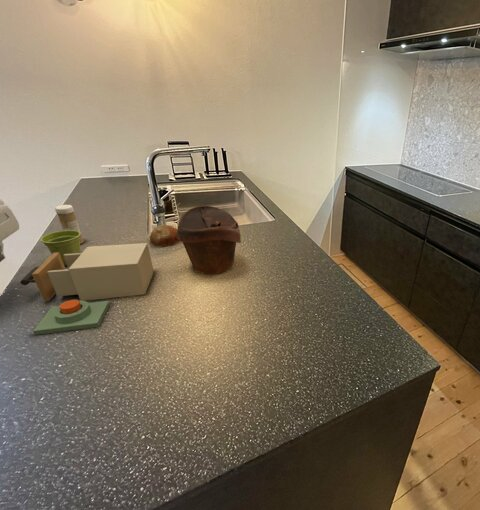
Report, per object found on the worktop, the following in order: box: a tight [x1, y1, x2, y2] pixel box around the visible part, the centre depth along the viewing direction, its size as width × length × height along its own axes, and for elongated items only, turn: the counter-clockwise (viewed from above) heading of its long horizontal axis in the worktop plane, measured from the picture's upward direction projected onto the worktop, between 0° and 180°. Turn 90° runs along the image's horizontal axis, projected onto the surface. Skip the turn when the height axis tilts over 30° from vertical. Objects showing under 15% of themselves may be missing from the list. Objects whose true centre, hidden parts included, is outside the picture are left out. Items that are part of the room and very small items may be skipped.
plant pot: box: [39, 229, 82, 266], centre depth 95 cm, size 9×9×9 cm
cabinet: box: [69, 242, 155, 302], centre depth 85 cm, size 15×13×10 cm
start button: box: [59, 299, 81, 314], centre depth 72 cm, size 4×4×2 cm
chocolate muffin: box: [176, 205, 242, 275], centre depth 97 cm, size 18×20×18 cm
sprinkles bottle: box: [54, 204, 85, 245], centre depth 104 cm, size 5×5×14 cm
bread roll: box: [149, 224, 180, 247], centre depth 113 cm, size 10×10×8 cm
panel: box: [32, 299, 111, 336], centre depth 73 cm, size 12×9×3 cm
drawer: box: [19, 252, 83, 301], centre depth 82 cm, size 18×12×8 cm, turn 109°
